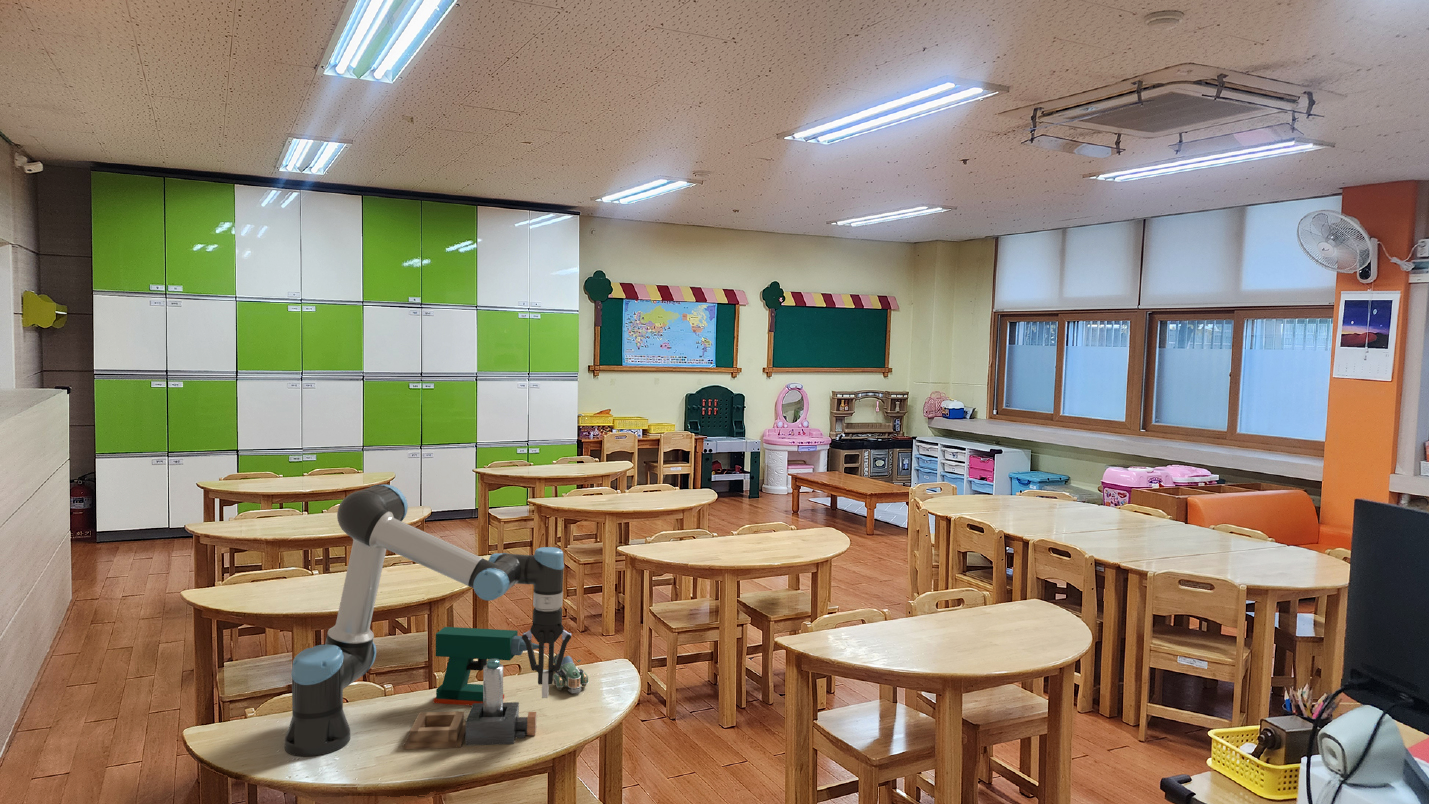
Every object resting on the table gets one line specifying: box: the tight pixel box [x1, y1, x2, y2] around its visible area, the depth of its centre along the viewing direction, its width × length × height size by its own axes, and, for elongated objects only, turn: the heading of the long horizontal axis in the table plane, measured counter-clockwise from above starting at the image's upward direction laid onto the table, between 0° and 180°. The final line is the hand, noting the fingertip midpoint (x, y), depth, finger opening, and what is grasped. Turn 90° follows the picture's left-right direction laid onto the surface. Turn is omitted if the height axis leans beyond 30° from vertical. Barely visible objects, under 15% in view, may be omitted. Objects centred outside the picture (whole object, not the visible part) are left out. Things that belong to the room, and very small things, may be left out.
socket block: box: [465, 701, 526, 746], centre depth 227 cm, size 14×12×6 cm
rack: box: [402, 710, 467, 750], centre depth 226 cm, size 14×14×4 cm
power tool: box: [433, 626, 546, 706], centre depth 248 cm, size 32×7×20 cm, turn 84°
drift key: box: [516, 711, 537, 736], centre depth 228 cm, size 8×4×5 cm, turn 97°
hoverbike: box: [553, 650, 590, 696], centre depth 266 cm, size 10×25×8 cm, turn 23°
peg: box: [482, 659, 504, 717], centre depth 227 cm, size 5×5×20 cm
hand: (545, 695), depth 228 cm, fingers closed
